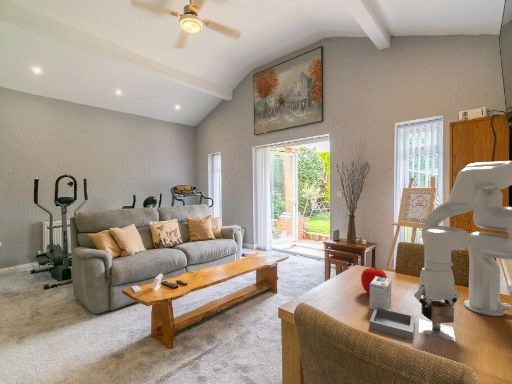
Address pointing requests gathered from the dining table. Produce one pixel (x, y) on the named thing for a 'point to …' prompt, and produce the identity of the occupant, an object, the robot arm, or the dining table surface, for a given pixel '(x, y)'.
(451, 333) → the white piece
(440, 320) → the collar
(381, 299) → the light bulb box
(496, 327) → the dining table surface
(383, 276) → the red rounded piece
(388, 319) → the tray
